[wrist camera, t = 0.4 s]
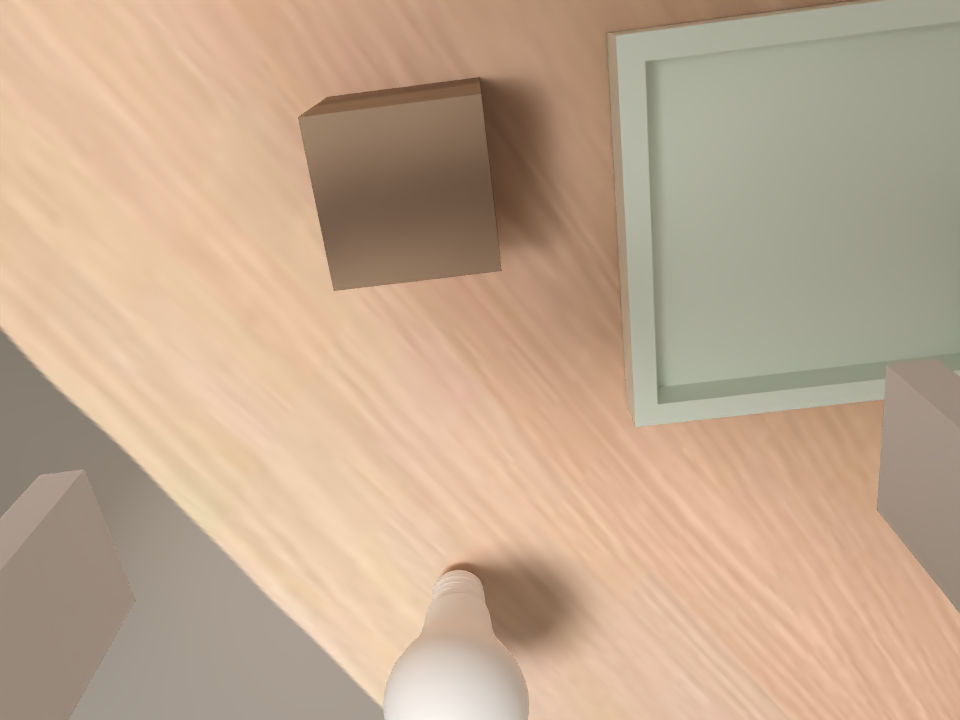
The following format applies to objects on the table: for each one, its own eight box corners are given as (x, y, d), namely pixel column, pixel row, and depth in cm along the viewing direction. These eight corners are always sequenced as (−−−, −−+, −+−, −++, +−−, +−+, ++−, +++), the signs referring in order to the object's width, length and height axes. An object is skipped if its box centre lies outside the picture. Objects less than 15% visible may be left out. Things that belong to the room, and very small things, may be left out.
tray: (606, 33, 31) (615, 35, 29) (1034, -24, 30) (1074, -25, 28) (626, 404, 37) (635, 427, 35) (979, 364, 37) (1008, 385, 35)
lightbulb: (465, 509, 40) (463, 682, 30) (542, 584, 42) (565, 771, 32) (373, 574, 41) (342, 760, 31) (452, 644, 43) (447, 840, 33)
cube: (327, 96, 32) (298, 117, 26) (479, 77, 32) (481, 93, 26) (355, 244, 34) (333, 291, 29) (496, 226, 34) (501, 271, 29)
